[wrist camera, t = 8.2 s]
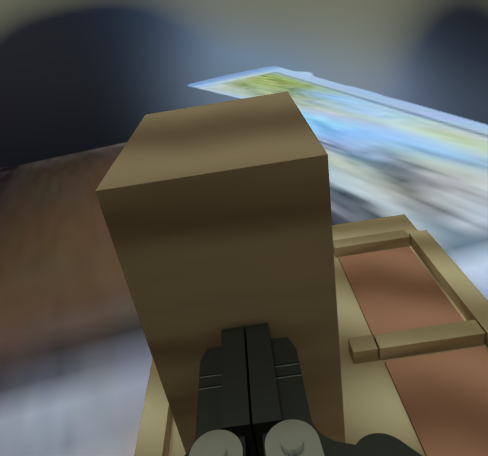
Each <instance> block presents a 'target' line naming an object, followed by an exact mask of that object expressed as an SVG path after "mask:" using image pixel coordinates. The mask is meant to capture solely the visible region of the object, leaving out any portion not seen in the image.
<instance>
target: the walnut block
mask: <svg viewBox="0 0 488 456" xmlns="http://www.w3.org/2000/svg"><path fill="white" fill-rule="evenodd" d="M95 192H96V195H97V198H98V201H99V203H100V206H101V209H102V212H103V215H104V218H105V221H106V224H107V227H108V229H109V232H110V235H111V238H112V241H113V244H114V247H115V250H116V253H117V256H118V258H119V261H120V264H121V267H122V270H123V273H124V276H125V279H126V282H127V284H128V287H129V290H130V293H131V296H132V299H133V302H134V305H135V308H136V311H137V313H138V316H139V319H140V322H141V325H142V328H143V331H144V334H145V337H146V339H147V342H148V345H149V348H150V351H151V354H152V357H153V360H154V363H155V366H156V368H157V371H158V374H159V377H160V380H161V383H162V386H163V389H164V392H165V394H166V397H167V400H168V403H169V406H170V409H171V412H172V415H173V418H174V421H175V423H176V426H177V429H178V432H179V435H180V438H181V441H182V444H183V447H184V449H185V452H186V453H187V452H188V451H189V449H190V448H191V446H192V444H193V442H194V439H195V434H196V419H197V402H198V390H199V388H198V386H199V369H200V361H201V359H202V357H203V355H204V353H205V352H206V350H207V348H213V347H220V346H221V330H222V329H227V328H234V327H241V326H244V327H245V331H246V326H248V325H255V324H262V323H268V325H269V331H270V337H271V339H275V338H282V337H288V339H289V340H290V341H291V342H292V343H293V345H294V346H295V347H296V349H297V354H298V359H299V364H300V368H301V373H302V378H303V383H304V387H305V392H306V397H307V402H308V407H309V411H310V416H311V420H312V422H313V424H314V426H315V427H316V429H317V430H318V431H319V432H320V433H321V434H323V435H324V436H326V437H327V438H329V439H332V440H334V441H338V442H343V443H345V428H344V412H343V396H342V380H341V363H340V347H339V331H338V315H337V299H336V283H335V267H334V251H333V235H332V218H331V202H330V186H329V170H328V154H327V153H326V151H325V150H324V148H323V147H322V145H321V143H320V142H319V140H318V139H317V137H316V136H315V134H314V132H313V131H312V129H311V128H310V126H309V125H308V123H307V122H306V120H305V118H304V117H303V115H302V114H301V112H300V111H299V109H298V107H297V106H296V104H295V103H294V101H293V100H292V98H291V96H290V95H289V93H288V92H282V93H276V94H270V95H264V96H257V97H251V98H245V99H239V100H233V101H227V102H221V103H215V104H209V105H203V106H197V107H190V108H184V109H178V110H172V111H166V112H160V113H154V114H148V115H145V116H144V118H143V120H142V121H141V123H140V124H139V126H138V127H137V129H136V130H135V132H134V133H133V135H132V136H131V138H130V139H129V141H128V142H127V144H126V145H125V147H124V148H123V150H122V151H121V153H120V154H119V156H118V157H117V159H116V160H115V162H114V163H113V165H112V166H111V168H110V169H109V171H108V172H107V174H106V176H105V177H104V179H103V180H102V182H101V183H100V185H99V186H98V188H97V189H96V191H95Z"/></svg>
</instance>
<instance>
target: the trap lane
mask: <svg viewBox="0 0 488 456" xmlns="http://www.w3.org/2000/svg"><path fill="white" fill-rule="evenodd" d="M332 235H333V251H334V267H335V283H336V299H337V315H338V331H339V347H340V363H341V380H342V396H343V412H344V428H345V443H348V444H354V445H356V444H357V442H358V441H359V440H360V439H361V438H363V437H364V436H366V435H369V434H373V433H384V434H388V435H391V436H394V437H396V438H397V439H399V440H401V441H402V442H403V443H405V444H406V445H408V446H409V447H411V448H412V449H414V450H415V451H416V452H418V453H419V454H421V455H422V456H488V301H487V299H486V298H485V297H484V296H483V295H482V294H481V293H480V291H479V290H478V289H477V288H476V287H475V286H474V284H473V283H472V282H471V281H470V280H469V279H468V278H467V276H466V275H465V274H464V273H463V272H462V271H461V269H460V268H459V267H458V266H457V265H456V264H455V263H454V261H453V260H452V259H451V258H450V257H449V256H448V255H447V253H446V252H445V251H444V250H443V249H442V248H441V246H440V245H439V244H438V243H437V242H436V241H435V240H434V238H433V237H432V236H431V235H430V234H429V233H428V232H427V230H424V231H418V230H417V229H416V228H415V227H414V225H413V224H412V223H411V222H410V221H409V219H408V218H407V217H406V216H405V215H404V214H403V215H397V216H390V217H384V218H378V219H371V220H365V221H358V222H352V223H345V224H339V225H332ZM185 454H186V452H185V449H184V447H183V444H182V441H181V438H180V435H179V432H178V429H177V426H176V423H175V421H174V418H173V415H172V412H171V409H170V406H169V403H168V400H167V397H166V394H165V392H164V389H163V386H162V383H161V380H160V377H159V374H158V371H157V368H156V366H155V363H154V360H152V365H151V370H150V376H149V381H148V386H147V392H146V397H145V402H144V407H143V413H142V418H141V423H140V428H139V434H138V439H137V444H136V450H135V455H134V456H185Z"/></svg>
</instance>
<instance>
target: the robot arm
mask: <svg viewBox="0 0 488 456" xmlns="http://www.w3.org/2000/svg"><path fill="white" fill-rule="evenodd" d="M198 388H199V390H198V402H197V419H196V434H195V439H194V442H193V444H192V446H191V448H190V449H189V451H188V452H187V453H186V454H185V456H422V455H421V454H419V453H418V452H416V451H415V450H414V449H412V448H411V447H409V446H408V445H406V444H405V443H403V442H402V441H401V440H399V439H397V438H396V437H394V436H391V435H388V434H384V433H373V434H369V435H366V436H364V437H363V438H361V439H360V440H359V441H358V442H357V444H356V445H354V444H348V443H343V442H338V441H334V440H332V439H329V438H327V437H326V436H324V435H323V434H321V433H320V432H319V431H318V430H317V429H316V427H315V426H314V424H313V422H312V420H311V416H310V411H309V407H308V402H307V397H306V392H305V387H304V383H303V378H302V373H301V368H300V364H299V359H298V354H297V349H296V347H295V346H294V345H293V343H292V342H291V341H290V340H289V339H288V337H282V338H275V339H271V337H270V331H269V325H268V323H262V324H255V325H248V326H246V331H245V327H244V326H241V327H234V328H227V329H222V330H221V346H220V347H213V348H207V350H206V352H205V353H204V355H203V357H202V359H201V361H200V369H199V386H198Z"/></svg>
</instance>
